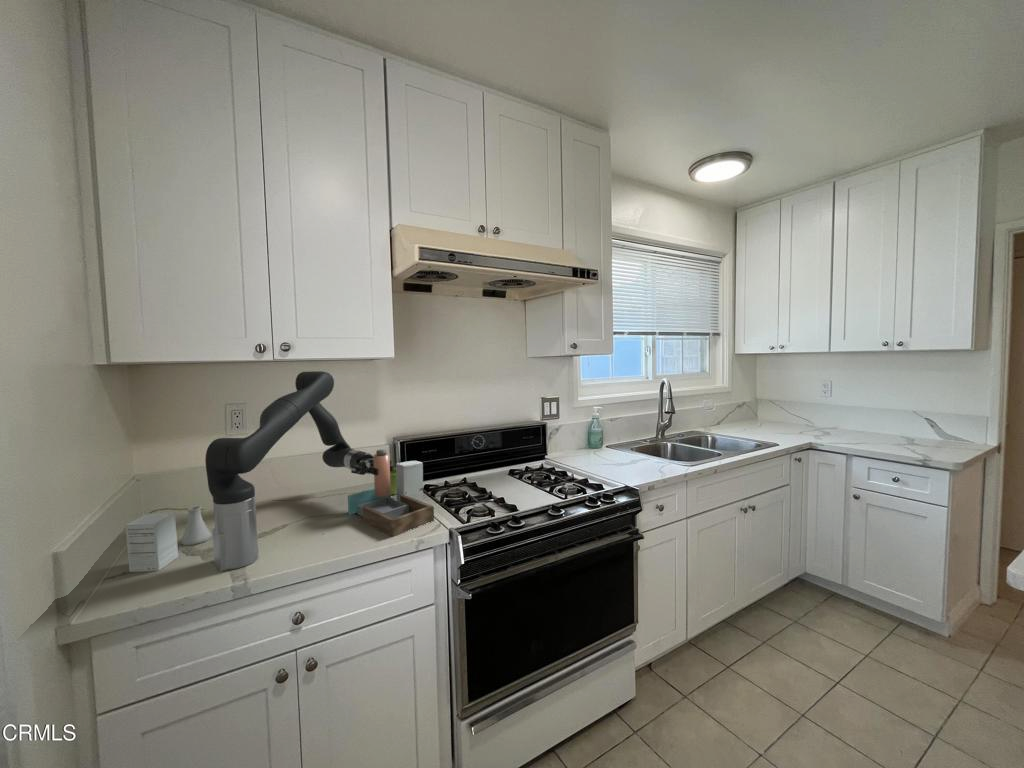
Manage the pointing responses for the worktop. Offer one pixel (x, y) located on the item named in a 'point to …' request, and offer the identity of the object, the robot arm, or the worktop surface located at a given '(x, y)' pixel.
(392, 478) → the plant pot
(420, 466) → the skincare box
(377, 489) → the bottle
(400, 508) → the tray
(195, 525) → the flask
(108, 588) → the worktop surface
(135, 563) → the supplement box
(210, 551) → the worktop surface
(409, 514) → the wooden storage box
